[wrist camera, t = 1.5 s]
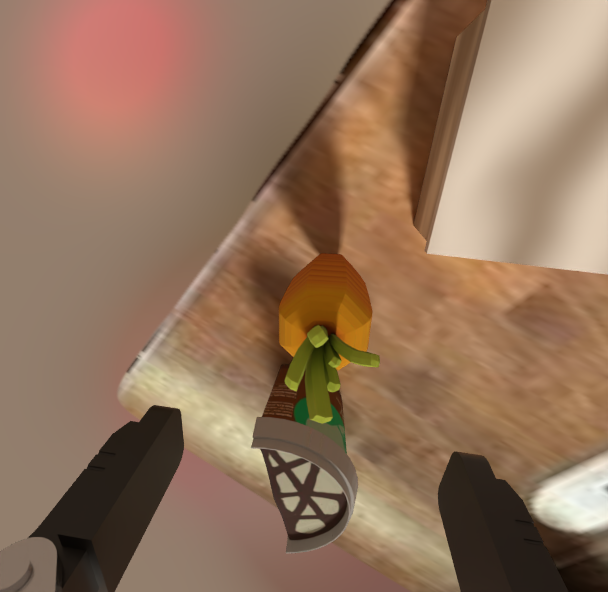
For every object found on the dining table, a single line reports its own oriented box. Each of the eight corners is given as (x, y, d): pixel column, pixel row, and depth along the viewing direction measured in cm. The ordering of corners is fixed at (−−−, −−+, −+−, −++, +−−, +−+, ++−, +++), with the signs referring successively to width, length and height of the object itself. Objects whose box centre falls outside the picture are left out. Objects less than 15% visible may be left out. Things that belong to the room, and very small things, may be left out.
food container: (361, 447, 33) (367, 559, 24) (302, 449, 34) (287, 557, 25) (346, 345, 29) (347, 437, 20) (278, 351, 30) (248, 441, 21)
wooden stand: (666, 45, 18) (803, 2, 13) (575, 247, 23) (645, 278, 18) (452, 30, 19) (495, -16, 14) (408, 228, 24) (426, 253, 18)
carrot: (316, 219, 24) (279, 311, 11) (375, 247, 25) (412, 371, 11) (290, 275, 26) (232, 411, 13) (345, 300, 27) (345, 459, 13)
